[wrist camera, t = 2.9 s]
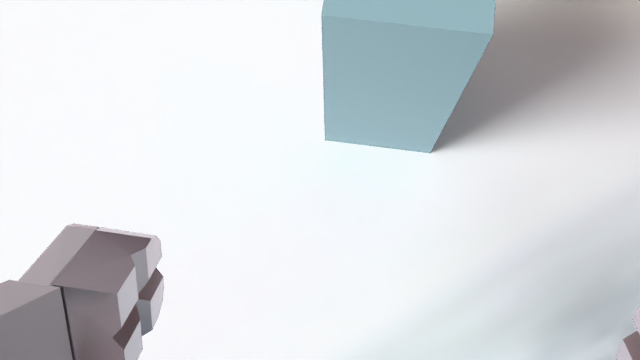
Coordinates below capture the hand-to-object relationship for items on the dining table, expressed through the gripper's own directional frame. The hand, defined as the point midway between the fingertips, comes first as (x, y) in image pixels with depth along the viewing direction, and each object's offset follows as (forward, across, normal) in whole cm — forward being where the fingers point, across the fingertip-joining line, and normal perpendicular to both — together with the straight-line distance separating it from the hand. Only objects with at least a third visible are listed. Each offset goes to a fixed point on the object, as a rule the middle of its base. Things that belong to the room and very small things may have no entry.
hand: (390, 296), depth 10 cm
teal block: (+19, 0, +4) cm, 19 cm away
